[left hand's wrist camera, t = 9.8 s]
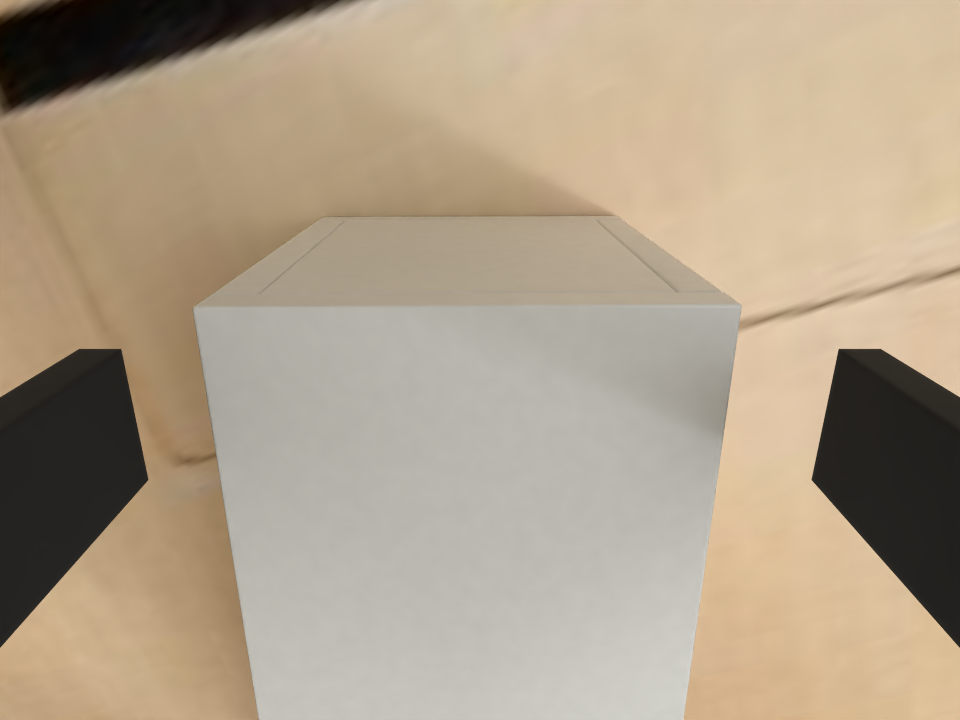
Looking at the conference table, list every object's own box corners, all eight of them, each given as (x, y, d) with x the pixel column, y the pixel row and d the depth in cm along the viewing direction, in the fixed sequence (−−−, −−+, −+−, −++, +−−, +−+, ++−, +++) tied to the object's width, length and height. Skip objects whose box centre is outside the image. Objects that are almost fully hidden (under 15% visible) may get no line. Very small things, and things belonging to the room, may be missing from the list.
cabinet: (587, 658, 28) (650, 958, 18) (359, 660, 28) (296, 963, 18) (618, 215, 22) (743, 304, 12) (321, 216, 22) (190, 306, 12)
